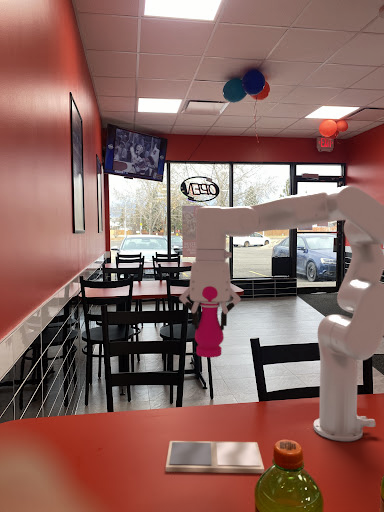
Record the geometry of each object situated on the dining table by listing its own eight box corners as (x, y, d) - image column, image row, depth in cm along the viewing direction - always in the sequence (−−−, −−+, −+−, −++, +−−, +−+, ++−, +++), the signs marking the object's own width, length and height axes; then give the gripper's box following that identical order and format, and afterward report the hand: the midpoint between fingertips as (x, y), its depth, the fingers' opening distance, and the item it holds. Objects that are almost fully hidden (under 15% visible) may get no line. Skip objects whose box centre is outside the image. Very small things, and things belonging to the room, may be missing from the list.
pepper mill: (223, 350, 106) (225, 273, 106) (222, 358, 99) (224, 276, 98) (196, 349, 107) (197, 273, 106) (192, 357, 100) (194, 275, 99)
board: (257, 446, 104) (257, 441, 104) (264, 473, 92) (264, 468, 92) (169, 444, 104) (169, 440, 104) (165, 471, 92) (165, 466, 92)
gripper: (244, 256, 106) (242, 326, 106) (177, 255, 106) (176, 324, 107) (246, 257, 98) (245, 332, 99) (174, 256, 99) (173, 330, 100)
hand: (209, 327), depth 103 cm, fingers closed on pepper mill, 5 cm apart
